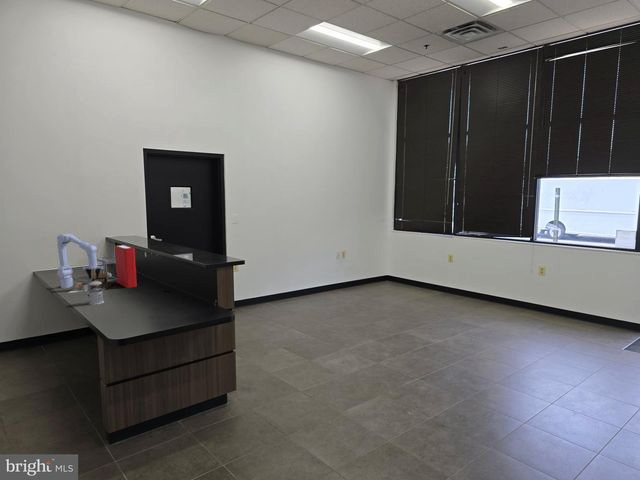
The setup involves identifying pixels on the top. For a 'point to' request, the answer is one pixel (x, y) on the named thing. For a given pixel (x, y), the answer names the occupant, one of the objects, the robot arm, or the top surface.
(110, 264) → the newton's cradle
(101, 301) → the french press
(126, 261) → the book
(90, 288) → the tan notched piece
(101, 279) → the cigar case
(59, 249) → the robot arm
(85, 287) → the pale blue block
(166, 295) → the top surface
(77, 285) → the canister
